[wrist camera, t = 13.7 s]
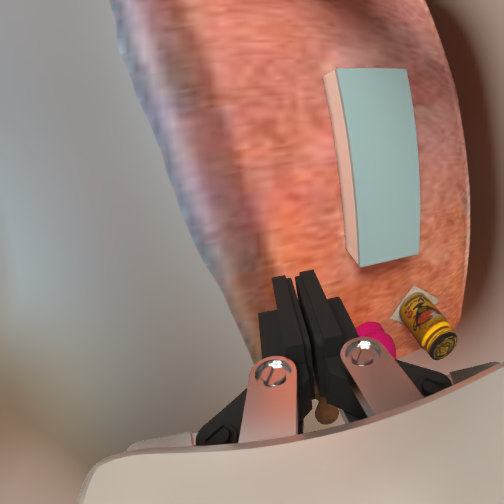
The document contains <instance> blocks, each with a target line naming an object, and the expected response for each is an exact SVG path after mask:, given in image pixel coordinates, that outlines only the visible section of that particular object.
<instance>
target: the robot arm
mask: <svg viewBox="0 0 504 504" xmlns="http://www.w3.org/2000/svg"><path fill="white" fill-rule="evenodd" d="M295 281H296V288H297V295H298V299H297V296H296V292H295V289H294V286H293V283H292V279H291V278H287V279H286V277H285V275H283V276H278V277H273V278H272V283H273V288H274V293H275V298H276V304H277V309H278V310H273V311H267V312H262V313H258V317H259V328H260V339H261V350H262V360H260V361H259V362H257V363H256V364H255V365H254V366H253V367H252V369H251V372H250V375H249V381H248V388H246V389H245V390H244V391H243V392H242V393H241V394H240V395H239V396H238V397H236V398H235V399H234V400H233V401H232V402H231V403H230V404H229V405H227V406H226V408H224V409H223V410H222V411H221V412H219V413H218V414H217V415H216V416H215V417H214V418H212V419H211V420H210V421H209V422H208V423H206V425H204V426H203V427H202V428H201V429H200V431H198V432H197V433H193V434H191V433H190V432H185V433H180V434H176V435H171V436H166V437H161V438H156V439H151V440H144V441H139V442H136V443H134V444H132V445H131V446H130V447H129V448H128V449H127V451H126V452H124V453H120V454H116V455H113V456H110V457H108V458H106V459H103V460H102V461H100V462H98V463H97V464H95V466H94V467H93V468H92V469H91V470H90V472H89V473H88V475H87V477H86V479H85V481H84V484H83V486H82V488H81V491H80V494H79V497H78V500H77V504H504V362H502V363H498V362H489V363H486V364H482V365H478V366H474V367H470V368H466V369H461V370H457V371H452V372H450V373H449V375H444V374H442V373H440V372H436V371H433V370H430V369H426V368H422V367H419V366H415V365H413V364H409V363H406V362H402V361H399V360H396V359H394V358H393V357H392V356H391V354H390V353H389V352H388V351H387V349H386V348H385V347H384V346H383V344H382V343H380V342H379V341H378V340H376V339H374V338H370V337H359V335H358V333H357V331H356V329H355V327H354V325H353V323H352V321H351V319H350V317H349V315H348V313H347V311H346V309H345V307H344V305H343V303H342V301H341V299H340V298H339V297H335V298H330V299H326V296H325V294H324V292H323V290H322V288H321V285H320V283H319V281H318V279H317V277H316V274H315V272H314V270H308V271H303V272H300V276H297V277H295ZM313 374H314V376H313ZM314 378H315V382H316V386H317V389H318V393H319V397H320V398H322V397H325V399H326V403H327V404H330V405H333V406H335V407H337V408H339V411H340V414H341V416H342V418H343V420H344V422H345V424H344V425H340V426H336V427H332V428H328V429H323V430H318V431H314V432H309V433H304V418H305V416H306V415H307V414H308V413H309V412H310V411H311V409H312V399H315V387H314Z"/></svg>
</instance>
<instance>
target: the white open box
mask: <svg viewBox="0 0 504 504" xmlns="http://www.w3.org/2000/svg"><path fill="white" fill-rule="evenodd" d="M322 78H323V82H324V87H325V92H326V97H327V102H328V108H329V113H330V119H331V125H332V131H333V137H334V144H335V150H336V157H337V165H338V173H339V181H340V189H341V198H342V208H343V219H344V231H345V245H346V250H347V251H348V252H349V253H350V255H351V256H352V257H353V259H354V260H355V261H356V263H357V264H358V252H357V232H356V217H355V204H354V193H353V183H352V174H351V165H350V157H349V149H348V142H347V135H346V129H345V123H344V117H343V111H342V105H341V100H340V94H339V89H338V84H337V79H336V75H335V70H334V71H332V72H330V73H328V74H326V75H324V76H323V77H322Z"/></svg>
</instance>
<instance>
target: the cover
mask: <svg viewBox="0 0 504 504" xmlns="http://www.w3.org/2000/svg"><path fill="white" fill-rule="evenodd" d="M335 75H336V79H337V84H338V89H339V94H340V100H341V105H342V111H343V117H344V123H345V129H346V135H347V142H348V149H349V157H350V165H351V174H352V183H353V193H354V204H355V217H356V232H357V252H358V265H359V267H364V266H369V265H373V264H378V263H382V262H386V261H391V260H395V259H399V258H403V257H408V256H412V255H416V254H419V237H420V177H419V159H418V146H417V135H416V126H415V118H414V111H413V104H412V97H411V91H410V86H409V80H408V75H407V70H406V69H397V68H343V69H335Z"/></svg>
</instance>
